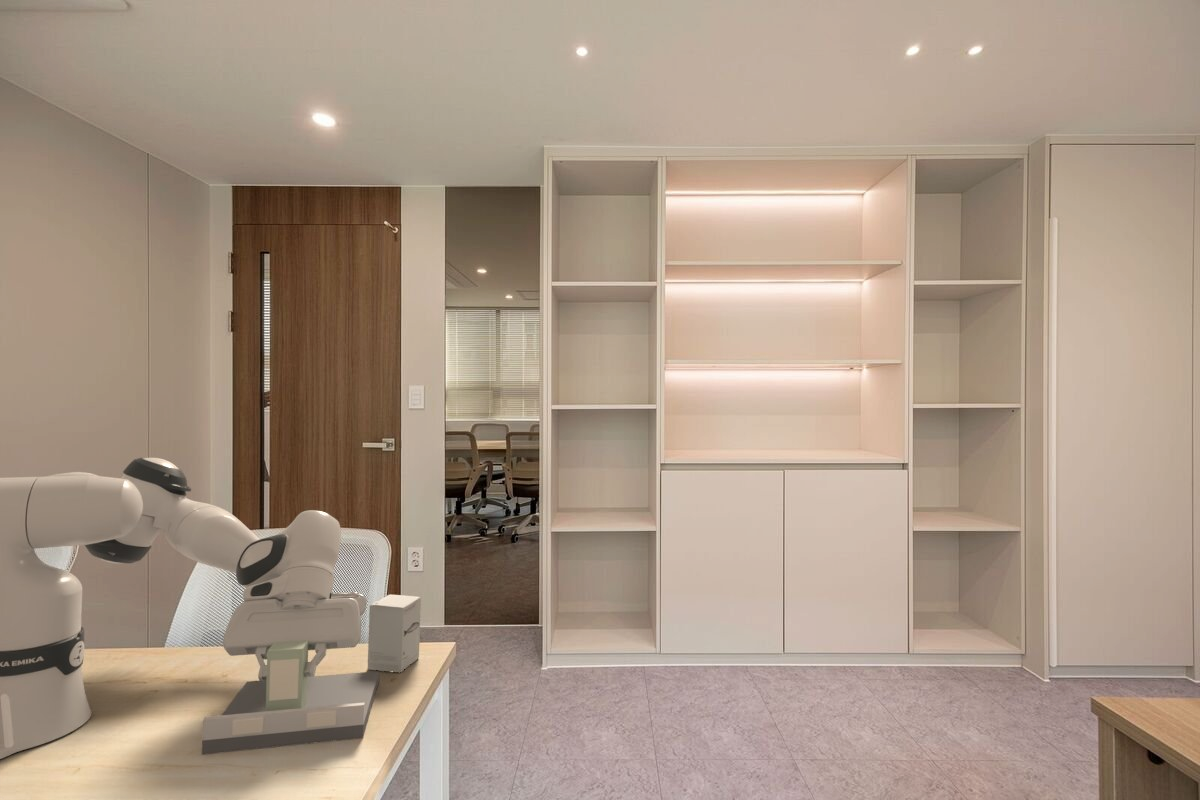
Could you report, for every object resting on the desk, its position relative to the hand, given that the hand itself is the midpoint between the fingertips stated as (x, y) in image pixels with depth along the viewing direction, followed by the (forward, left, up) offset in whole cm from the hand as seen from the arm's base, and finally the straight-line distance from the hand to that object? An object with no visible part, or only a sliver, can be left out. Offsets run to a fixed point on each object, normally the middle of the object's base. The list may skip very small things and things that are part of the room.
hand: (286, 677), depth 93 cm
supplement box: (+14, +23, -9) cm, 28 cm away
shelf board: (+1, +6, -9) cm, 10 cm away
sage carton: (0, +1, -5) cm, 5 cm away
